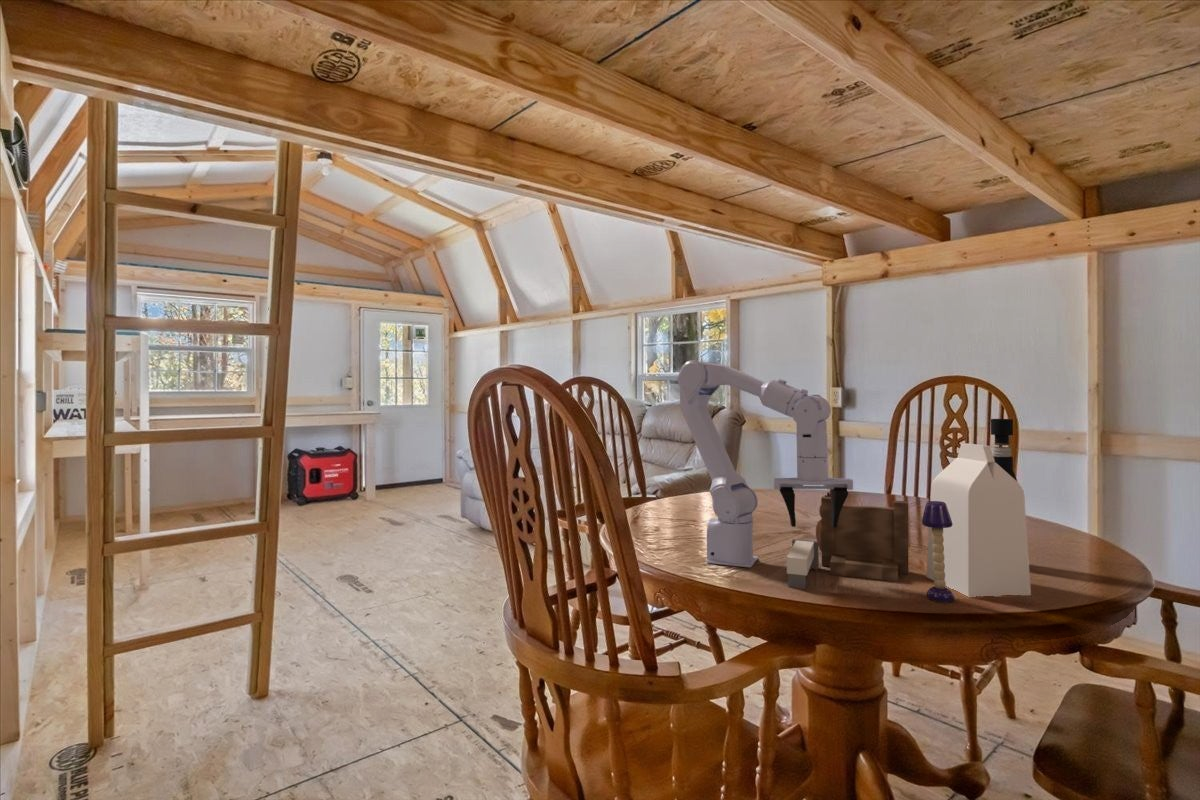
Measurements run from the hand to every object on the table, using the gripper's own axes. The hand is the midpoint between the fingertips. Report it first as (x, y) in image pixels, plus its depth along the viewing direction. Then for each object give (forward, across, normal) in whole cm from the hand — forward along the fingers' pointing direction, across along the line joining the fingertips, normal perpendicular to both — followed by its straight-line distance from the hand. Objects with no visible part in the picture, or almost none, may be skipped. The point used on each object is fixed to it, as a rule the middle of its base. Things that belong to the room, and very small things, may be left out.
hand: (813, 525), depth 119 cm
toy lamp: (+10, +19, -10) cm, 24 cm away
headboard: (+10, +10, +4) cm, 14 cm away
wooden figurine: (+10, +6, +18) cm, 21 cm away
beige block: (+10, -3, -2) cm, 10 cm away
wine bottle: (+10, +39, +14) cm, 43 cm away
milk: (+10, +28, -2) cm, 30 cm away
